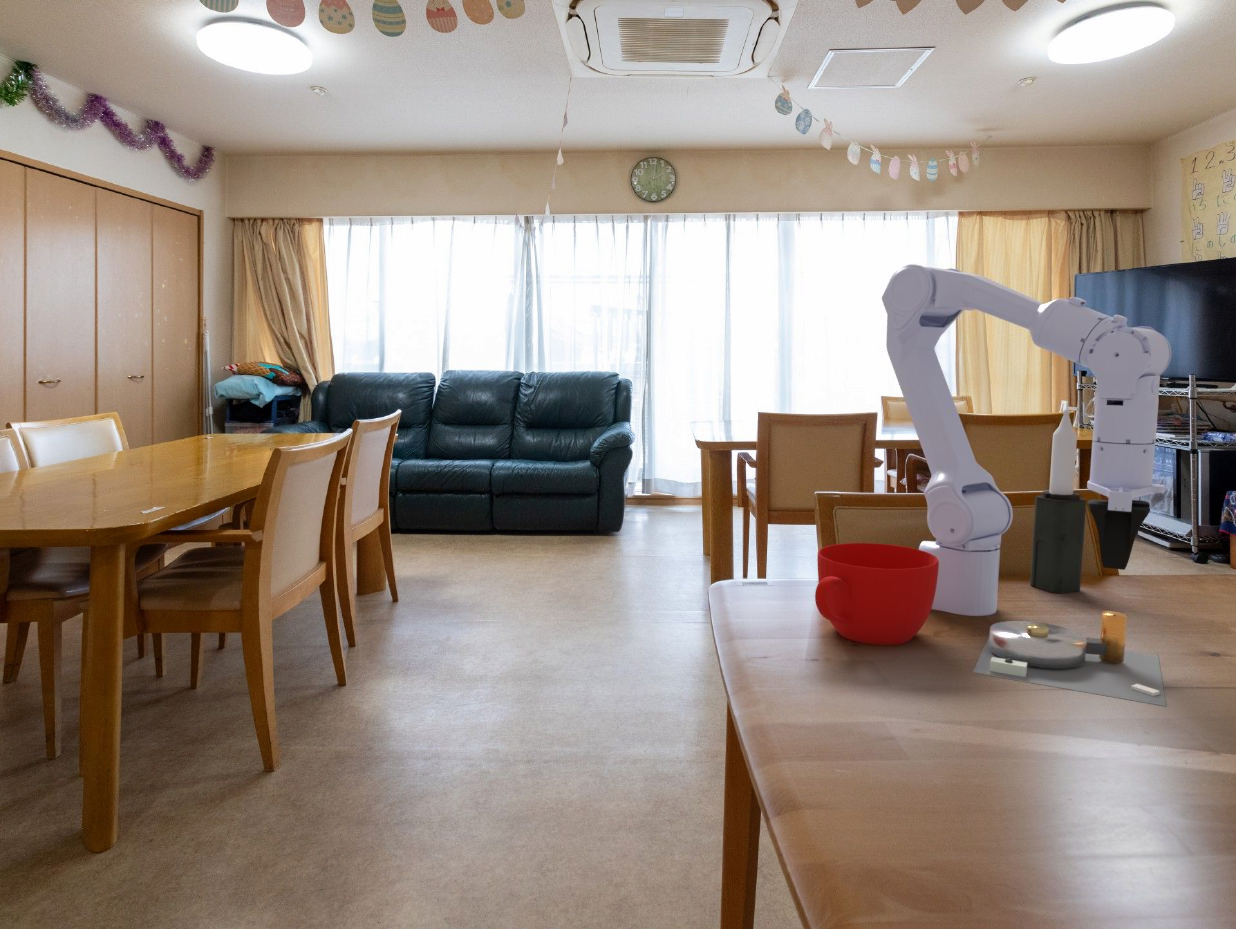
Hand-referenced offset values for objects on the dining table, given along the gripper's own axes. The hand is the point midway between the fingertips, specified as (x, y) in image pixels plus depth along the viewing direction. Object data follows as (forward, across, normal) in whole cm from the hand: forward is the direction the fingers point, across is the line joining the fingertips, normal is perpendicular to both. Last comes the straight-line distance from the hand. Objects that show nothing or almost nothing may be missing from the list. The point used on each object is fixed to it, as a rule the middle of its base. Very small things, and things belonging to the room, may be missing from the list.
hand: (1113, 567), depth 90 cm
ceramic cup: (+10, -12, +24) cm, 28 cm away
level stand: (+9, -10, +4) cm, 14 cm away
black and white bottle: (+10, +26, +6) cm, 29 cm away
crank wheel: (+8, -8, +5) cm, 12 cm away
